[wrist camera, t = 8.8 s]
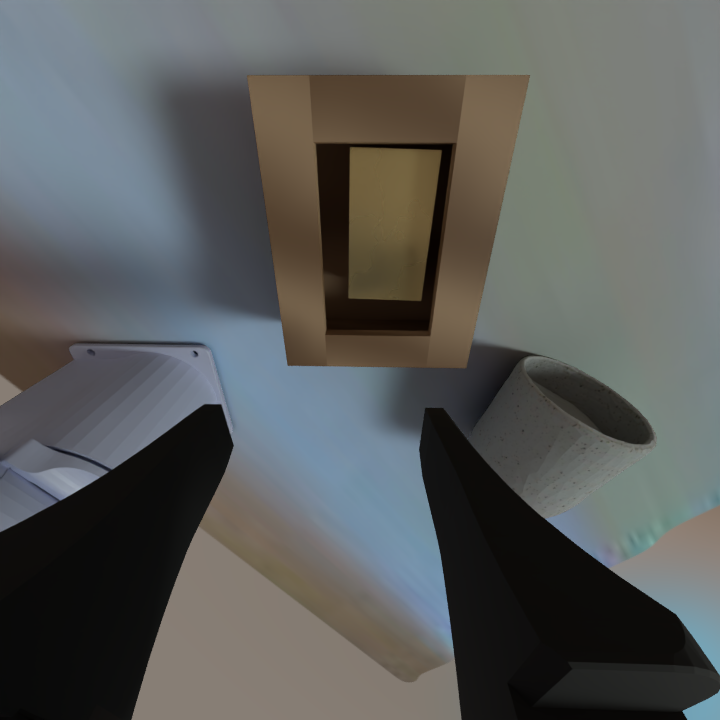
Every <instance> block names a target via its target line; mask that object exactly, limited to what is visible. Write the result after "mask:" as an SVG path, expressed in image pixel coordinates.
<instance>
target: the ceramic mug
mask: <svg viewBox="0 0 720 720" xmlns="http://www.w3.org/2000/svg"><path fill="white" fill-rule="evenodd" d="M656 440H657V438H656V433H655V432H654V430H653V428H652V426H651V425H650V423H649V422H648V420H647V419H646V418H645V417H644V416H643V415H642V414H641V413H640V412H639V411H638V409H636V408H635V407H634V406H633V405H632V404H630V403H629V402H628V401H627V400H626V399H624V398H623V397H622V396H620V395H619V394H618V393H616V392H615V391H613V390H612V389H611V388H609V387H608V386H606V385H605V384H603V383H601V382H600V381H598V380H597V379H595V378H593V377H591V376H590V375H588V374H586V373H584V372H582V371H581V370H579V369H577V368H575V367H572V366H569V365H567V364H564V363H562V362H560V361H557V360H554V359H550V358H547V357H543V356H533V355H532V356H527V357H524V358H523V359H521V360H520V361H519V362H518V364H517V365H516V366H515V368H514V370H513V371H512V373H511V374H510V376H509V378H508V379H507V380H506V382H505V383H504V384H503V386H502V387H501V389H500V390H499V392H498V393H497V395H496V396H495V398H494V399H493V401H492V402H491V404H490V405H489V407H488V408H487V410H486V411H485V413H484V414H483V415H482V417H481V418H480V419H479V421H478V422H477V424H476V425H475V427H474V428H473V431H472V433H471V436H470V438H469V442H470V443H471V445H472V446H473V447H474V448H475V449H476V450H477V452H478V453H479V454H480V455H481V456H482V458H483V459H484V460H485V461H486V462H487V463H488V464H489V465H490V467H491V468H492V469H493V470H494V471H495V472H496V473H497V474H498V475H499V476H500V477H501V478H502V479H503V480H504V481H505V482H506V483H507V485H508V486H509V487H510V488H511V489H512V490H514V491H515V492H516V493H517V494H518V495H519V496H520V497H521V498H522V499H523V500H524V501H525V502H526V503H527V504H528V505H529V506H530V507H532V508H533V509H534V510H535V511H536V512H537V513H538V514H540V515H541V516H542V517H543V518H549V517H552V516H556V515H558V514H561V513H563V512H566V511H567V510H569V509H571V508H573V507H574V506H576V505H577V504H579V503H580V502H581V501H582V500H584V499H585V498H586V497H587V496H588V495H590V494H591V493H593V492H594V491H595V490H597V489H598V488H600V487H601V486H603V485H604V484H606V483H607V482H608V481H610V480H611V479H613V478H614V477H616V476H617V475H618V474H620V473H621V472H622V471H624V470H625V469H627V468H628V467H630V466H631V465H633V464H634V463H636V462H637V461H639V460H640V459H641V458H643V457H644V456H646V455H647V454H648V453H650V452H651V451H652V450H653V449H654V448H655V446H656Z"/></svg>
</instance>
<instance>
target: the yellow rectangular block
mask: <svg viewBox="0 0 720 720" xmlns="http://www.w3.org/2000/svg"><path fill="white" fill-rule="evenodd" d="M441 153H442V150H423V149H393V148H363V147H350V193H349V296H348V298H353V299H381V300H409V301H421V298H422V291H423V284H424V276H425V269H426V262H427V255H428V247H429V240H430V233H431V226H432V218H433V211H434V204H435V197H436V190H437V182H438V175H439V168H440V161H441Z"/></svg>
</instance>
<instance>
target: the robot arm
mask: <svg viewBox="0 0 720 720" xmlns="http://www.w3.org/2000/svg"><path fill="white" fill-rule="evenodd" d="M92 350H93V351H94V352H93V351H92ZM69 351H70V353H71V355H72V357H73V359H74V360H73V361H71V362H70V363H68V364H66V365H65V366H63V367H62V368H60V369H58V370H57V371H55V372H54V373H52V374H51V375H49V376H47V377H46V378H44V379H43V380H41V381H39V382H38V383H36V384H35V385H33V386H31V387H30V388H28V389H27V390H25V391H23V392H22V393H20V394H19V395H17V396H15V397H14V398H12V399H11V400H9V401H7V402H6V403H4V404H3V405H1V406H0V720H131V719H132V715H133V712H134V708H135V705H136V701H137V698H138V694H139V691H140V688H141V684H142V681H143V677H144V674H145V671H146V667H147V664H148V661H149V658H150V654H151V651H152V648H153V645H154V642H155V639H156V636H157V633H158V630H159V627H160V624H161V621H162V618H163V615H164V612H165V609H166V606H167V604H168V601H169V598H170V595H171V592H172V589H173V587H174V584H175V581H176V578H177V576H178V573H179V571H180V568H181V565H182V563H183V560H184V558H185V555H186V552H187V550H188V548H189V545H190V543H191V541H192V538H193V536H194V534H195V532H196V530H197V528H198V526H199V524H200V522H201V520H202V518H203V516H204V514H205V512H206V510H207V508H208V506H209V504H210V502H211V500H212V498H213V496H214V494H215V492H216V489H217V487H218V485H219V483H220V481H221V479H222V477H223V475H224V473H225V470H226V467H227V464H228V462H229V459H230V455H231V452H232V449H233V446H234V445H233V442H232V438H231V435H230V434H231V433H232V431H233V426H232V422H231V419H230V415H229V412H228V408H227V405H226V401H225V398H224V394H223V391H222V387H221V384H220V380H219V377H218V373H217V370H216V366H215V363H214V359H213V356H212V352H211V350H210V349H209V348H208V347H207V346H204V345H157V344H86V343H77V344H74V345H72V346H70V347H69ZM193 351H196V352H197V353H198V354H195V353H194V352H193ZM419 451H420V460H421V468H422V476H423V481H424V485H425V489H426V493H427V498H428V502H429V506H430V510H431V514H432V519H433V523H434V527H435V531H436V535H437V539H438V544H439V549H440V554H441V560H442V567H443V574H444V580H445V587H446V594H447V602H448V609H449V616H450V624H451V632H452V640H453V648H454V656H455V664H456V672H457V681H458V690H459V700H460V709H461V718H462V720H687V718H686V717H685V715H684V714H683V712H682V711H683V710H685V709H687V708H689V707H691V706H693V705H696V704H697V703H700V702H702V701H704V700H706V699H708V698H710V697H712V696H713V695H715V694H716V693H718V691H719V690H720V675H719V674H718V673H717V671H716V669H715V668H714V667H713V665H712V664H711V662H710V661H709V659H708V658H707V656H706V655H705V654H704V652H703V651H702V649H701V648H700V646H699V645H698V644H697V642H696V641H695V639H694V638H693V636H692V635H691V634H690V632H689V631H688V630H687V628H686V627H685V626H684V624H683V623H682V622H681V621H680V619H679V618H678V617H677V615H676V614H674V613H673V612H671V611H670V610H669V609H667V608H666V607H664V606H662V605H661V604H659V603H658V602H657V601H655V600H653V599H652V598H651V597H649V596H648V595H646V594H645V593H643V592H642V591H640V590H639V589H637V588H636V587H634V586H633V585H631V584H630V583H628V582H627V581H625V580H624V579H622V578H621V577H619V576H618V575H617V574H615V573H614V572H612V571H611V570H610V569H608V568H607V567H606V566H604V565H603V564H602V563H600V562H599V561H598V560H596V559H595V558H593V557H592V556H591V555H589V554H588V553H587V552H585V551H584V550H583V549H581V548H580V547H579V546H578V545H576V544H575V543H574V542H572V541H571V540H570V539H569V538H567V537H566V536H565V535H564V534H563V533H561V532H560V531H559V530H558V529H556V528H555V527H554V526H553V525H552V524H550V523H549V522H548V521H547V520H545V519H544V518H543V517H542V516H541V515H540V514H538V513H537V512H536V511H535V510H534V509H533V508H532V507H530V506H529V505H528V504H527V503H526V502H525V501H524V500H523V499H522V498H521V497H520V496H519V495H518V494H517V493H516V492H515V491H514V490H512V489H511V488H510V487H509V486H508V485H507V483H506V482H505V481H504V480H503V479H502V478H501V477H500V476H499V475H498V474H497V473H496V472H495V471H494V470H493V469H492V468H491V467H490V465H489V464H488V463H487V462H486V461H485V460H484V459H483V458H482V456H481V455H480V454H479V453H478V452H477V450H476V449H475V448H474V447H473V446H472V445H471V443H470V442H469V441H468V440H467V438H466V437H465V436H464V435H463V433H462V432H461V431H460V430H459V428H458V427H457V426H456V424H455V423H454V422H453V420H452V419H451V418H450V416H449V415H448V414H447V412H446V411H445V410H444V409H443V408H425V414H424V421H423V427H422V434H421V441H420V448H419Z"/></svg>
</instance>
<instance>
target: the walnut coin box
mask: <svg viewBox="0 0 720 720" xmlns="http://www.w3.org/2000/svg"><path fill="white" fill-rule="evenodd" d="M529 78H530V75H247V79H248V86H249V93H250V100H251V107H252V114H253V122H254V129H255V136H256V143H257V150H258V157H259V164H260V171H261V179H262V186H263V193H264V200H265V207H266V214H267V221H268V229H269V236H270V243H271V250H272V257H273V264H274V271H275V279H276V286H277V293H278V300H279V307H280V314H281V321H282V329H283V336H284V343H285V350H286V357H287V364H288V366H351V367H417V368H466V367H467V362H468V358H469V353H470V349H471V344H472V339H473V335H474V330H475V326H476V321H477V316H478V312H479V307H480V303H481V298H482V293H483V289H484V284H485V280H486V275H487V270H488V266H489V261H490V257H491V252H492V248H493V243H494V238H495V234H496V229H497V225H498V220H499V215H500V211H501V206H502V202H503V197H504V192H505V188H506V183H507V179H508V174H509V169H510V165H511V160H512V156H513V151H514V146H515V142H516V137H517V133H518V128H519V124H520V119H521V114H522V110H523V105H524V101H525V96H526V91H527V87H528V82H529ZM350 147H363V148H393V149H423V150H442V153H441V161H440V168H439V175H438V182H437V190H436V197H435V204H434V211H433V218H432V226H431V233H430V240H429V247H428V255H427V262H426V269H425V276H424V284H423V291H422V298H421V301H409V300H381V299H353V298H348V296H349V193H350Z"/></svg>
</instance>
